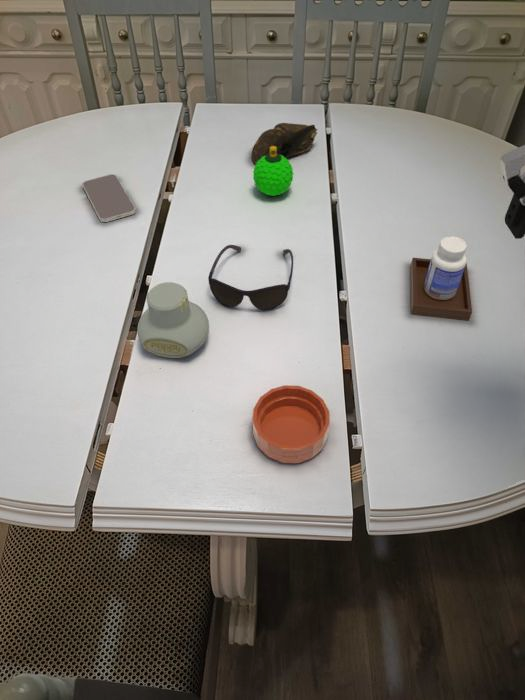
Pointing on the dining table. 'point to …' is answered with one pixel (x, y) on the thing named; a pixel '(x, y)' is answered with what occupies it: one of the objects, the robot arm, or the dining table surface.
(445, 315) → the tray
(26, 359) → the dining table surface
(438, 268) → the pill bottle
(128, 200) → the smartphone
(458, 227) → the dining table surface
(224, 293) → the sunglasses
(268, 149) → the brown curved chunk
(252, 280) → the dining table surface
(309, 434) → the bowl
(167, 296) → the air freshener
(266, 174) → the ornament
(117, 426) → the dining table surface
